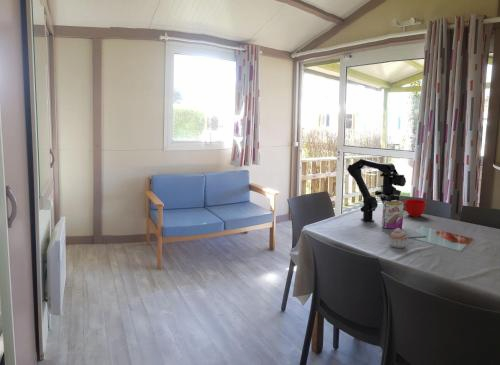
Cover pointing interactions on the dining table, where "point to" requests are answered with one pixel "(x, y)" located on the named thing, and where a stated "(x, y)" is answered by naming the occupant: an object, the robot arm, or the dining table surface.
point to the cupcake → (398, 238)
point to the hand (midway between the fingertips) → (386, 209)
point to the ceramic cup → (415, 207)
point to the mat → (406, 232)
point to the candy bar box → (392, 214)
